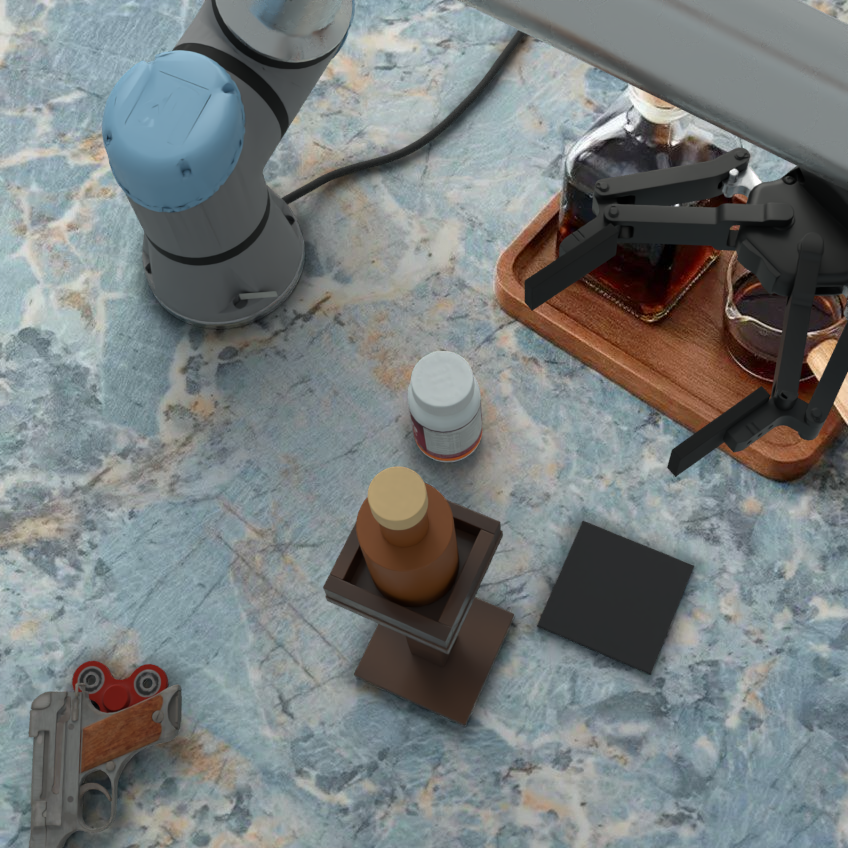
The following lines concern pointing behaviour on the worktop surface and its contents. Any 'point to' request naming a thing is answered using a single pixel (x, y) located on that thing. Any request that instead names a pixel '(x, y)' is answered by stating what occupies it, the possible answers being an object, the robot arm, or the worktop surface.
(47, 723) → the pistol
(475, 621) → the holder
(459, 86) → the worktop surface
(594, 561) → the mat
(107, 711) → the fidget spinner
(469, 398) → the pill bottle
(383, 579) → the bottle
